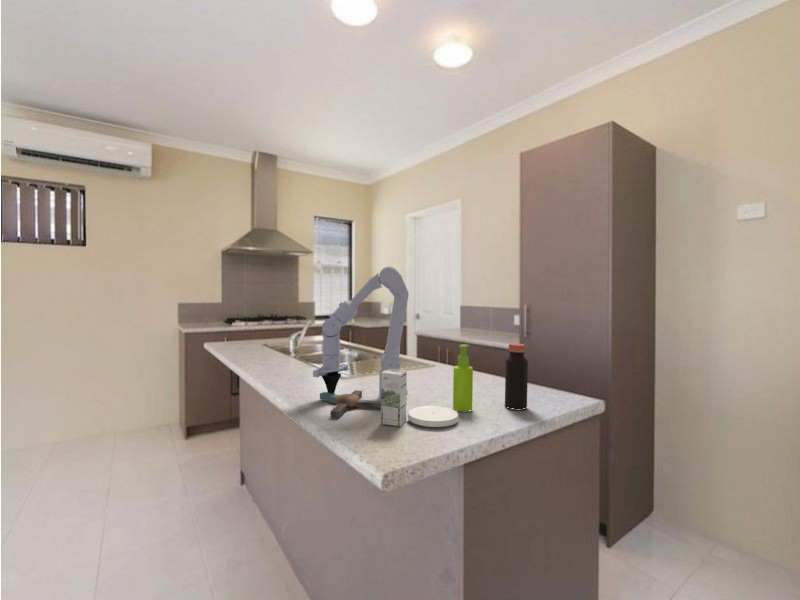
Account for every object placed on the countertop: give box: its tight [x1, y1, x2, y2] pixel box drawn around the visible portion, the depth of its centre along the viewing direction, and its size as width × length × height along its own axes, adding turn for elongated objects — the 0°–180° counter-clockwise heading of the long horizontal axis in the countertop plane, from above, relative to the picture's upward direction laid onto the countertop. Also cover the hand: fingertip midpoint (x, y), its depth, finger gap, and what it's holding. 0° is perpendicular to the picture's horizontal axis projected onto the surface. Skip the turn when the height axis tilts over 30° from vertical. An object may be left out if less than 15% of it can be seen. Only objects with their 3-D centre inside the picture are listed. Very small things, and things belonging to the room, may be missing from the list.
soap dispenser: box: [452, 343, 474, 412], centre depth 122 cm, size 6×7×20 cm
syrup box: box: [380, 369, 408, 428], centre depth 108 cm, size 6×6×14 cm
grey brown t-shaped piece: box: [330, 390, 381, 420], centre depth 123 cm, size 16×24×3 cm, turn 170°
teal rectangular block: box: [319, 391, 339, 405], centre depth 128 cm, size 8×2×2 cm, turn 51°
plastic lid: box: [407, 405, 459, 428], centre depth 111 cm, size 14×14×2 cm
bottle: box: [504, 343, 529, 409], centre depth 124 cm, size 7×7×20 cm
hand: (331, 395), depth 131 cm, fingers closed
